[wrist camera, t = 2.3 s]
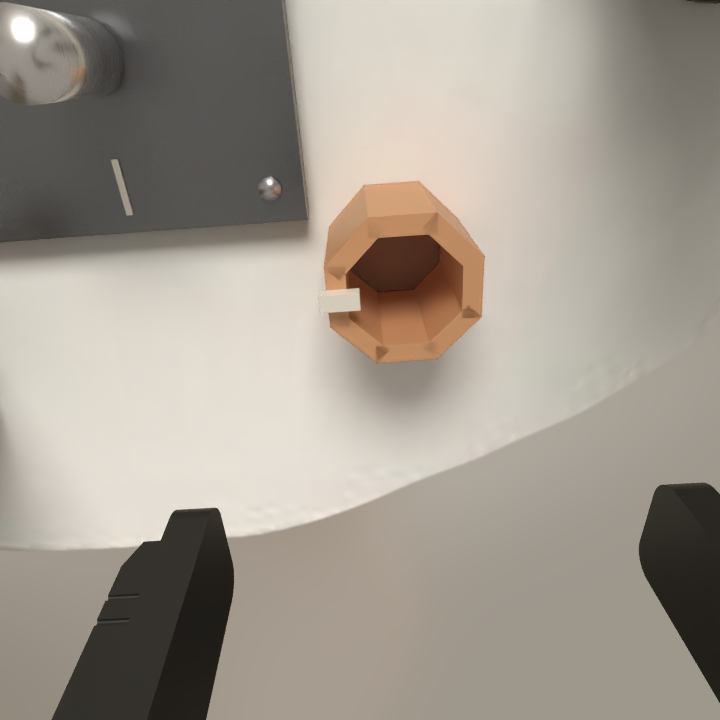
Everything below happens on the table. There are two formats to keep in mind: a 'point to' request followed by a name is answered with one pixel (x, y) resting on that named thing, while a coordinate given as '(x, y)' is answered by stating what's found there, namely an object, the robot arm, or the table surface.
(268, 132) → the plate
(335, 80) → the table surface
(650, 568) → the robot arm
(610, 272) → the table surface
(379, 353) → the octagonal hollow tube
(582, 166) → the table surface
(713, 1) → the french press
